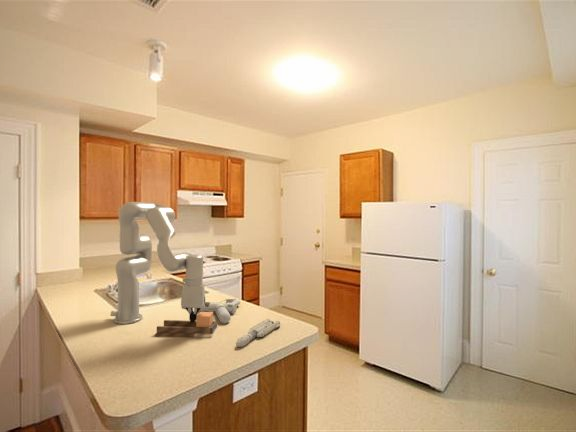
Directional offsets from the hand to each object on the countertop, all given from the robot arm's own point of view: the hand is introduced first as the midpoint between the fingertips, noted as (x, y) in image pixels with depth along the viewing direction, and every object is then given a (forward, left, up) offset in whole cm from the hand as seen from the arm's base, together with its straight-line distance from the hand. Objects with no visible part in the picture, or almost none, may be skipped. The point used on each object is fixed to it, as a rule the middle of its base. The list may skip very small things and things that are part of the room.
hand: (193, 321), depth 141 cm
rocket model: (+30, -3, -5) cm, 30 cm away
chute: (-2, 0, -5) cm, 5 cm away
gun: (+2, +26, -5) cm, 26 cm away
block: (+5, 0, -3) cm, 6 cm away
